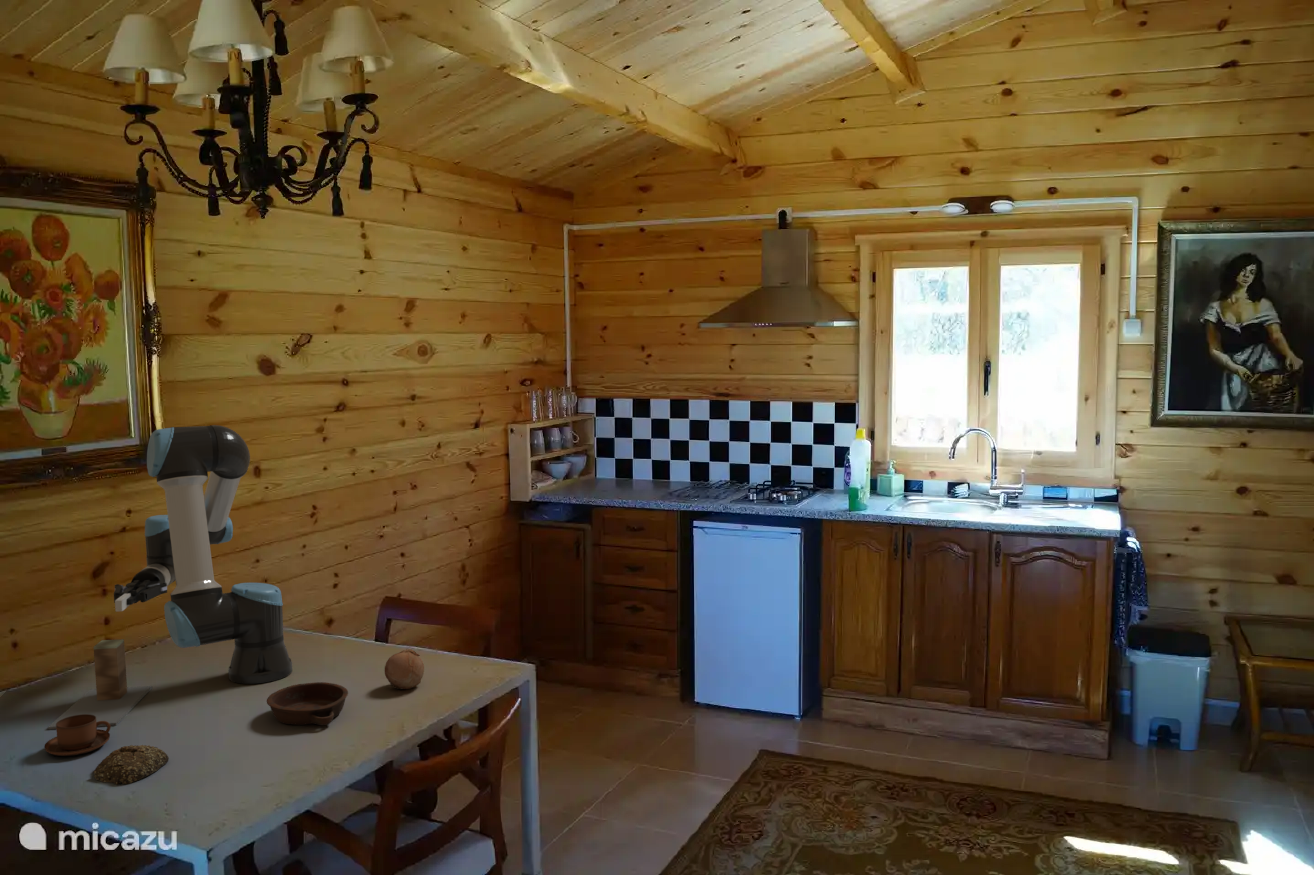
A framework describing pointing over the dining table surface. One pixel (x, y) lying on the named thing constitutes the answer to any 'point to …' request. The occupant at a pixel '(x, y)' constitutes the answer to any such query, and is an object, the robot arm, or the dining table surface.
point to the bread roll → (130, 764)
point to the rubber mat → (105, 706)
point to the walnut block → (110, 669)
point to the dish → (308, 703)
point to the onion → (404, 669)
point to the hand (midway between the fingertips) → (118, 605)
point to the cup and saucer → (77, 735)
